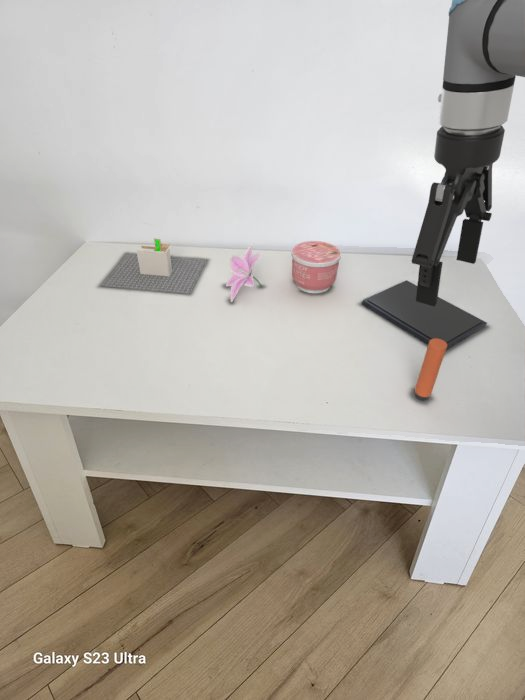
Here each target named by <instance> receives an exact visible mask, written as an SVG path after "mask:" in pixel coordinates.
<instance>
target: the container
mask: <svg viewBox="0 0 525 700" xmlns="http://www.w3.org/2000/svg"><path fill="white" fill-rule="evenodd" d="M290 252H291V253H290V254H291V276H292V279H293V282H294V283H295V284H296V287H297V288H298V289H299V290H300V291H302V292H305V293H308V294H323V293H325V292H327V291H328V290H330V288H331V287H332V285H333V284H334V283H335V281H336V280H337V276H338V269H339V264H340V260H341V258H342V252H341V250H340V248H339V247H337V246H336V245H334V244H331V243H330V242H326V241H321V240H320V241H319V240H307V241H302V242H300V243H297V244H295V245H294V246H293V247H292V248H291V251H290Z"/></svg>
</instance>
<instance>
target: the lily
mask: <svg viewBox="0 0 525 700" xmlns="http://www.w3.org/2000/svg"><path fill="white" fill-rule="evenodd" d="M252 250H253V243H251V244H250V245H249V246H248V247H247V249H246V251H245V253H244V255H243V256H241V255H237V254H234V255H231V256H230V259H229V265H230V271H231V273H232V274H231V276H230V277H229V278H228V280H227V282H226V284H225V287H231V288H230V302H231V303H233V302H234V300H235V298H236V296H237V294H238V292H239V291H240V289H241V288H242V287H243V285H244V286H246V287H250V288H253V287H254V285H255V283H254V280H255V281H256V282H257V283H258V285H259V287H261V288H263V285H262V284H261V282H260V281H259V280H258V278H257V277H255V276H254V275H253V268H254V267H255V265H256V264H257V262H258V261H259V260H260V258H261V257H262V255H263V253H262V252H256V253H253V254H252V252H253V251H252Z"/></svg>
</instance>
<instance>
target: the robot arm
mask: <svg viewBox="0 0 525 700" xmlns="http://www.w3.org/2000/svg"><path fill="white" fill-rule="evenodd" d="M447 24H448V25H447V33H446V35H447V36H446V45H445V56H444V67H443V75H442V76H443V77H442V88H441V93H439V95H438V97H437V101H438V103H440V104H439V105H440V106H439V116H438V124H439V126H441V127H439V129H438V130H437V132H436V136H435V146H434V155H433V157H434V160H435V162H436V163H437V164H439V165H441V166H442V167H443V168H444V169H445V172H444V175H443V177H442V179H441V181H440V182H432V184H431V186H430V189H429V197H428V202H427V207H426V210H425V213H424V217H423V220H422V223H421V226H420V230H419V233H418V237H417V240H416V244H415V247H414V250H413V254H412V257H411V264H413V265H416V266H419V268H418V275H417V276H418V277H417V278H418V279H417V284H416V285H417V294H416V301H417V302H420V303H424V304H427V305H430V306H435V305H436V304H437V298H438V297H439V290H440V283H441V276H442V269H443V261H441V258H442V256H443V254H444V251H445V248H446V246H447V243H448V241H449V238H450V236H451V233H452V230H453V228H454V226H455V223H456V221H457V218H458V217H460V216H462V215H463V213H464V212H465V217H466V218H464V219H463V220H462V224H461V229H460V234H459V235H460V236H459V242H458V246H457V247H458V248H457V253H456V254H457V255H456V261H459V262H463V263H469V264H472V265H474V264H475V263H477V257H478V252H479V246H480V241H481V237H482V233H483V226H484V222H485V221H486V222H489V221H491V219H492V216H493V215H492V214H493V213H492V212H490V211H491V210H492V208H493V165H494V163H496V162H497V161H498V160H499V158H500V156H501V152H502V147H503V141H504V137H505V132H506V130H505V128H504V126H503V125H504V124H506V122H508V120H509V119H508V118H509V113H510V108H511V104H512V103H511V102H512V97H513V93H514V87H515V86H514V85H515V81H516V77H522V78H525V0H452V1H451V6H450V8H449V11H448V23H447Z"/></svg>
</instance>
